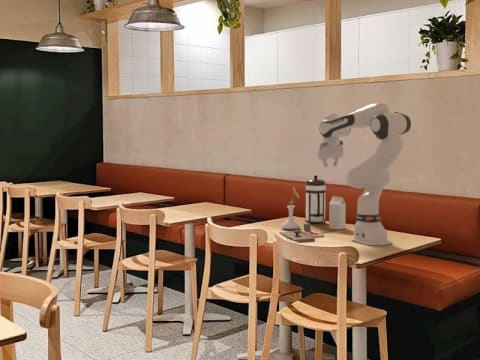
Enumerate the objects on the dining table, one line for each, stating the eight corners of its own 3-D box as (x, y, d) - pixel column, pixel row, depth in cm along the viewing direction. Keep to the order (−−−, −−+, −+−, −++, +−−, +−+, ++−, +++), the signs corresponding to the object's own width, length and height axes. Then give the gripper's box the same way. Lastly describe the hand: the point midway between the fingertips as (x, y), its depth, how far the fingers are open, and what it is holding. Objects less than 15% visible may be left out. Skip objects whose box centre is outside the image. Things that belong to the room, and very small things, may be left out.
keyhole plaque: (323, 236, 328) (324, 227, 328) (312, 237, 326) (312, 228, 326) (311, 231, 344) (311, 222, 344) (300, 232, 342) (300, 223, 342)
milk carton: (339, 230, 349) (340, 197, 347) (329, 228, 353) (329, 196, 351) (345, 228, 354) (345, 196, 352) (334, 227, 359) (335, 195, 357)
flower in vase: (295, 231, 345) (296, 188, 343) (278, 229, 351) (278, 187, 348) (304, 227, 356) (304, 186, 354) (287, 226, 362) (287, 185, 360)
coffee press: (297, 223, 373) (297, 175, 370) (314, 220, 384) (314, 173, 381) (318, 226, 361) (319, 177, 358) (335, 223, 371) (335, 175, 368)
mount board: (314, 241, 317) (314, 233, 316) (293, 242, 313) (294, 234, 313) (298, 233, 338) (298, 226, 337) (279, 235, 334) (279, 227, 334)
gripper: (324, 143, 331) (324, 167, 333) (345, 141, 346) (344, 165, 348) (315, 142, 336) (315, 167, 337) (336, 141, 351) (335, 165, 352)
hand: (330, 166), depth 343 cm, fingers open, 8 cm apart
